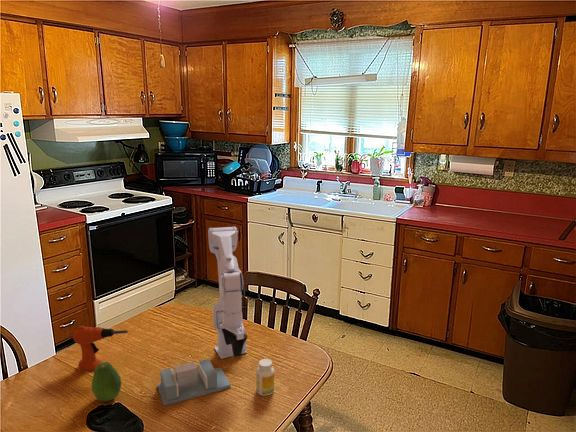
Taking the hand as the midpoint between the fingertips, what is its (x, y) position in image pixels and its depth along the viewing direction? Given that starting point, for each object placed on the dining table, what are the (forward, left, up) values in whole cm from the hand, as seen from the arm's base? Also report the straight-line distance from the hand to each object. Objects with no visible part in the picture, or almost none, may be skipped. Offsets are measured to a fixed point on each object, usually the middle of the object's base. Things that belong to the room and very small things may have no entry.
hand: (233, 349), depth 136 cm
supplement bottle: (-6, +11, -10) cm, 16 cm away
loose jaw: (+9, 0, -8) cm, 12 cm away
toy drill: (+37, -23, -10) cm, 44 cm away
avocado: (+37, -5, -10) cm, 38 cm away
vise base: (+13, 0, -9) cm, 16 cm away
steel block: (+15, 0, -8) cm, 17 cm away
